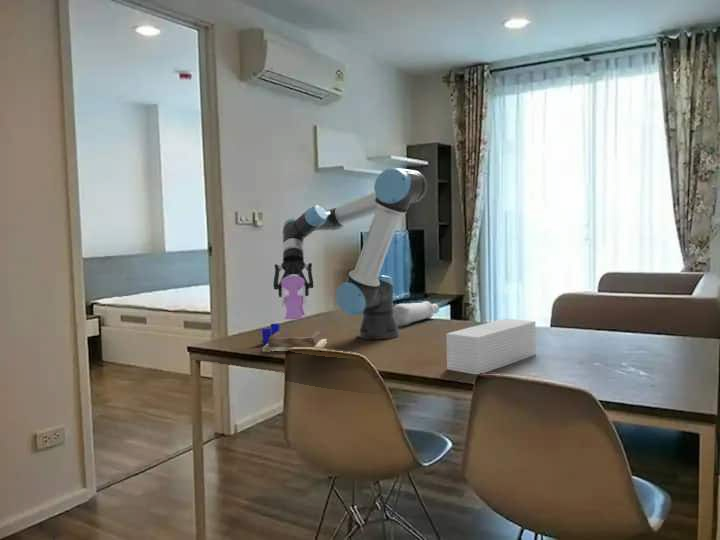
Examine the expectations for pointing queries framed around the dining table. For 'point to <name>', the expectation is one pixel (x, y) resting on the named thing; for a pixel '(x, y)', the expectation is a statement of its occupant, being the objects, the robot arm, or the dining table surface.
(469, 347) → the stack of papers
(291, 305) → the purple upright piece
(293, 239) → the robot arm
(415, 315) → the bottle
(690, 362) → the dining table surface
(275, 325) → the cable clip
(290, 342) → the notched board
